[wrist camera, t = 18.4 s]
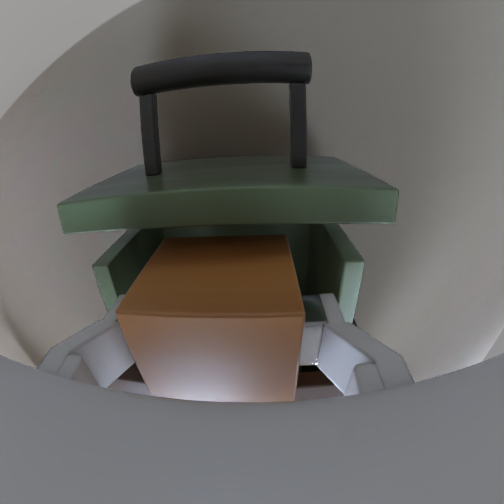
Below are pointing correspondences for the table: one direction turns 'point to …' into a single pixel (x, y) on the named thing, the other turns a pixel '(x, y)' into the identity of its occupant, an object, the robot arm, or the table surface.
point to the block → (217, 319)
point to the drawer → (233, 188)
